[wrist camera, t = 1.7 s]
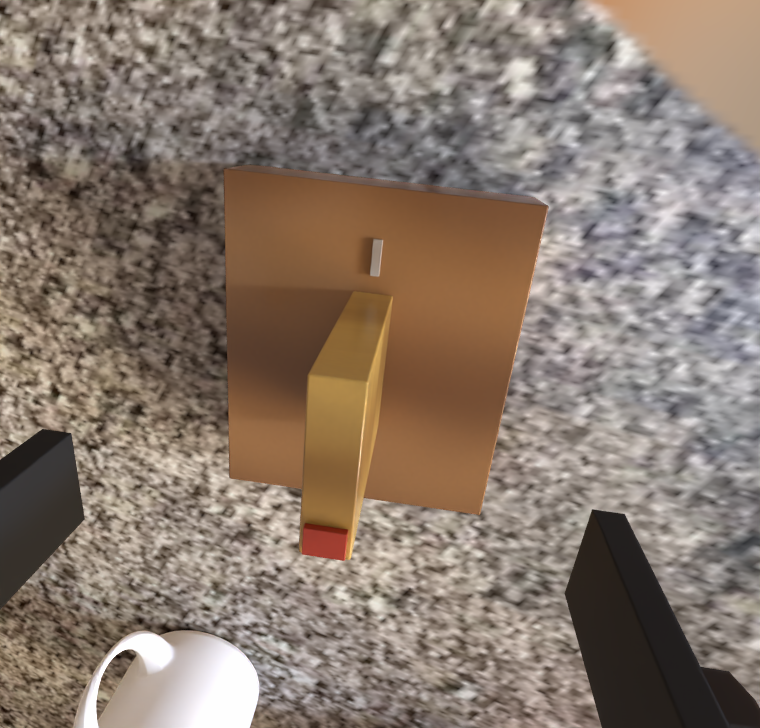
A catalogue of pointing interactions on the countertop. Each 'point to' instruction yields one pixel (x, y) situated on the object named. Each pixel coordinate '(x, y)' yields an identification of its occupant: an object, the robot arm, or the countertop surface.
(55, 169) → the countertop surface
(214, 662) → the mug
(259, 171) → the plate
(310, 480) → the thumbturn
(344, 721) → the countertop surface
